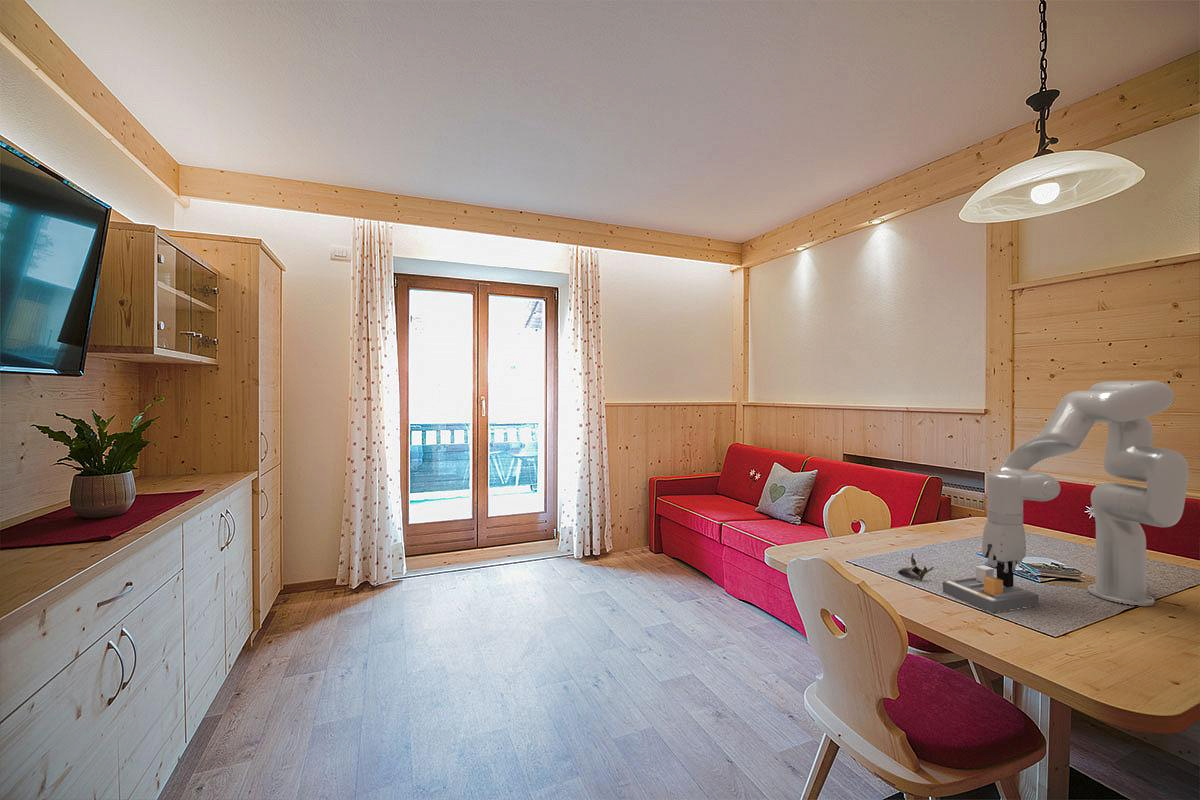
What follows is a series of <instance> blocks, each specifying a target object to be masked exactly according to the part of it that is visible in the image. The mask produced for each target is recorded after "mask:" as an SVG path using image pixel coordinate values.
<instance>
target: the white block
mask: <svg viewBox="0 0 1200 800" xmlns="http://www.w3.org/2000/svg"><path fill="white" fill-rule="evenodd" d="M992 576H993V577H995V568H992V567H990V566H987V565H985V564H984V565H983V564H982V565H976V566H975V577H976V580H977V581H980V582H982V583H984V578H985V577H992Z"/></svg>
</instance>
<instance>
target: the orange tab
mask: <svg viewBox="0 0 1200 800" xmlns="http://www.w3.org/2000/svg"><path fill="white" fill-rule="evenodd" d="M984 592H985V593H987V594H990V595H992V596H994V595H996V594H1003V580H1001V579H998V578H997V577H996V576H994V577H993V576H992V577H985V578H984Z"/></svg>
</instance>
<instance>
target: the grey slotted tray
mask: <svg viewBox="0 0 1200 800" xmlns="http://www.w3.org/2000/svg"><path fill="white" fill-rule="evenodd" d="M944 592H945V594H946V593H947V595H949V596H951V595H952V596H951V597H953V596H954V598H956V599H958V600H960V599H961V601H963V600H964V601H963V602H965V601H966V602H965V603H967V602H969V603H968V604H970V603H971V604H970V605H972V604H974V605H976V606H975V607H977V606H978V607H977V608H979V607H980V609H981V608H983V609H985V610H984V611H986V610H988V611H990V612H997V613H999V612H998V611H1004V610H1010V609H1016V610H1018V609H1017V608H1022V609H1024V608H1023V607H1028V608H1030V607H1029V606H1035V605H1039V599H1040V598H1039V597H1040V596H1039V594H1037V593H1035V592H1031V591H1029V590H1027V589H1024V588H1021V587H1019V586H1016V585H1013V587H1005V586H1003V594H996V595H994V596H992V595H990V594H987V593H985V592H984V583H982V582H980V581H977V580H976V576H971V577H963V578H955V579H953V580H944V581H942V593H944ZM974 605H973V606H974ZM1039 606H1040V605H1039ZM1035 607H1036V606H1035ZM983 609H982V610H983ZM988 611H987V612H988ZM1010 611H1011V610H1010ZM990 612H989V613H990ZM1004 612H1005V611H1004Z"/></svg>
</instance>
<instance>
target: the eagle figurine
mask: <svg viewBox="0 0 1200 800" xmlns="http://www.w3.org/2000/svg"><path fill="white" fill-rule="evenodd" d="M910 563H911V565H912V566H911V567H906V566H905V567H903V568H901V569H899V570H897V572H898V573H899V572H902V573H911V572H912V573H914V574H915V575H917V576H918V577H919V580H920V582H923V579H924V577H925V575H926V574H928V573H929V572H930V571H931V572H932V570H933V569H934V566H932V567H930V568H927V566H926V565H924V567H923V569H922V568H919V567H918V566H917V560H916V559H915V558H914V552H912V555H911V557H910Z"/></svg>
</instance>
